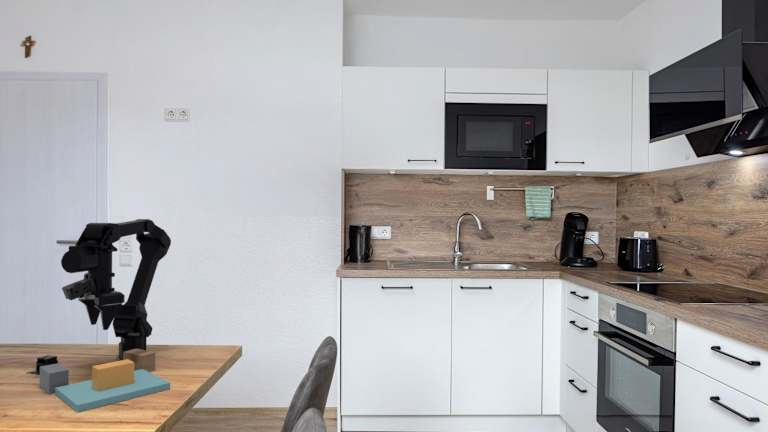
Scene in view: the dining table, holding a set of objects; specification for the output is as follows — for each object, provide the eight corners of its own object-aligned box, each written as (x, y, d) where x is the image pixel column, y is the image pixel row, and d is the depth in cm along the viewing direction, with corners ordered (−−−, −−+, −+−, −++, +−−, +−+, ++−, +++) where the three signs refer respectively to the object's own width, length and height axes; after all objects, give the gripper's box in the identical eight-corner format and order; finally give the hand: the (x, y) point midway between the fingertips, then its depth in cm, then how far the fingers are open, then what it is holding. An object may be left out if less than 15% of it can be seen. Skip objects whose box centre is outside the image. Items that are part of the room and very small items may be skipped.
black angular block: (17, 375, 132) (17, 358, 132) (43, 367, 139) (44, 351, 139) (51, 380, 128) (51, 362, 128) (77, 372, 135) (77, 355, 135)
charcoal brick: (39, 387, 122) (39, 366, 122) (58, 383, 125) (58, 363, 125) (48, 394, 116) (49, 373, 116) (68, 390, 119) (68, 369, 119)
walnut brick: (122, 370, 135) (122, 351, 135) (136, 366, 139) (136, 348, 139) (141, 374, 132) (142, 355, 132) (155, 370, 135) (155, 352, 135)
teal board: (142, 374, 131) (142, 368, 131) (170, 388, 121) (170, 382, 121) (55, 394, 116) (55, 387, 116) (77, 412, 106) (77, 405, 106)
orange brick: (127, 379, 123) (128, 359, 123) (134, 383, 120) (134, 362, 120) (92, 387, 117) (92, 366, 117) (97, 391, 114) (98, 369, 114)
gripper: (55, 268, 134) (54, 326, 134) (77, 274, 121) (76, 338, 121) (100, 266, 142) (99, 320, 142) (125, 271, 130) (125, 330, 129)
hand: (99, 327), depth 133 cm, fingers open, 9 cm apart
